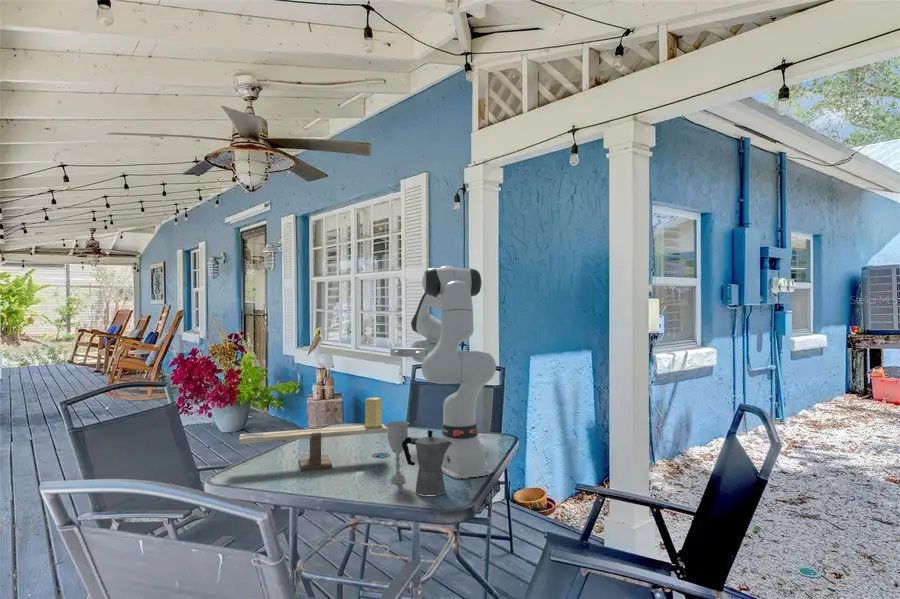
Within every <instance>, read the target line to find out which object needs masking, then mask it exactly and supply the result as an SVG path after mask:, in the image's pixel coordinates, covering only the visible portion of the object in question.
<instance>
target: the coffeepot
mask: <svg viewBox="0 0 900 599" xmlns="http://www.w3.org/2000/svg"><path fill="white" fill-rule="evenodd" d="M408 444H411V445H415V450H416V456H417V462H418V471H417V476H416V483H415V489H416V490H415V494H416V493H418V494H422V495H439V494H441V493H443V492H445V493H446V487H445V481H444V473H443V472H442V465H441V464H442V463H443V457H444V454H445V452H446V451H447V449H448V447H449V446H450V445H452V443H451V442H449V441H446V440H444V439H443V438H442V437H437V436H434V435H433V430H429V429H428V430H427V436H424V437H414V436H413V437H411V436H408V437H406V438H405V440H404V441H403V442H402V447H403V452H404V456H405V459H406V462H407V464H408V465H409V466H415V464H416V462H414V461H412V456H411V454H410V450H409V446H408ZM418 494H417V495H418Z"/></svg>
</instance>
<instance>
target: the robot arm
mask: <svg viewBox="0 0 900 599" xmlns="http://www.w3.org/2000/svg"><path fill="white" fill-rule="evenodd" d="M482 282H483V281H482V276H481V273H480V272H479V271H478V270H477V269H474V268H464V267H454V266H452V265H443V266H441V267H430V268H427V269H426V270H424V273H423V275H422V279H421V285H422V289H423V290H424V291H423V292H424V293H423V294H422V296H421V299H420V301H419V303H418V306H417V309H416V311H415V314H414V315H413V317H412V319H411V320H410V327H411V330H412V331H413V332H415V333H417V334H419V335H421V336H423V337H424V338H425V339H424V340H422V339H421V340H416V341H415V342H413V343H412V344H411V346H396V347H391V348H390V350H389V351H390V352H389V353H390V357H392V358H396V357H397V358H412V359H413V361H415V362H417V363H421V373H422V375H423V377H424V379H425V380H426V381H427V382H429V383H434V384H440V385H441V384H442V385H443V384H444V385H449V384H460V386H459V388H458V389H457V391H455V392H454V393H453V392H452V394H449V395H448V396H447V397H446V398H445V399H444V401H443V404H442V406H443V407H442V408H443V409H442V412H443V414H442V416H443V417H442V419H443V420H442V423H441V434H442V436H441V438H443V439H444V440H446V441H449V442H451V443H452V445H450V446H449V447H448V449H447V451H446V452H445V454H444V457H443V463H442V464H441V465H442V473H443V474H445V475H447V476H449V477H450V476H451V478H452V477H453V479H461V478H463V479H470V478H469V477H477V478H479V477H478V476H484V477H486V476H485V475H488V476H490V475H489V474H491V473H492V472H493V473H494V470H493V469H492V467H491V466H490V464H488V463H489V462H488V461H486V458H487V457H488V456H489V452H488V449H484V444H483V443H481V442H480V439H479V437H478V435H479V433H478V427H477V423H476V408H477V401H478V400H477V399H478V397H479V394H480V392H481V391H482V390H483V388H484V387H485V386H486V384H487V383H488V382H490V381H491V380H492V379H493V378H494V376H495V375H496V371H497V363H496V361H495V358H494V357H493V356H492V354H490V353H488V352H484V351H478V350H473V351H471V350H469V351H468V350H467V351H465V350H464V351H459V350H457V349H458V345H459V344H460V343H463V342H464V341H466V340H468V339H470V338H471V337H472V335H473V334H474V309H473V308H474V307H473V306H474V305H473V300H472V297H475V296H477V295H479V293H480V291H481V288H482ZM431 308H434V309H436V310H441V320H440V319H439V318H437V317H435V316H433V315H432V314H431V313H430V312H429V310H430V309H431ZM491 475H492V474H491Z"/></svg>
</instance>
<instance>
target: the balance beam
mask: <svg viewBox="0 0 900 599" xmlns="http://www.w3.org/2000/svg"><path fill="white" fill-rule="evenodd" d="M316 432H321V439H322V438H332V437H348V436H359V435H360V436H361V435H373V434H383V433H385V434H386V433H387V434H388V427H387V425H386V424H383V423H382V426H380V427H378V428H368V427H365V424H364V425H351V426H349V425H348V426H339V427H337V426H336V427H325V428H324V427H321V428H319V429H310V428H309V429H297V430H296V429H295V430H294V429H293V430H283V431H282V430H281V431H269V432H268V431H267V432H266V431H264V432H251V433H240V434H239V438H238V445H243V444H244V445H245V444H255V443H256V444H257V443H267V442H268V443H269V442H270V443H271V442H283V441H295V440H308V439H309V440H310V438H312V433H316Z"/></svg>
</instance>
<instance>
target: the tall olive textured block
mask: <svg viewBox="0 0 900 599" xmlns="http://www.w3.org/2000/svg"><path fill="white" fill-rule="evenodd" d="M382 424H383V398H382V397H367V398H365V399H364V425H365V427H368V428H378V427H380V426H382Z"/></svg>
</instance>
